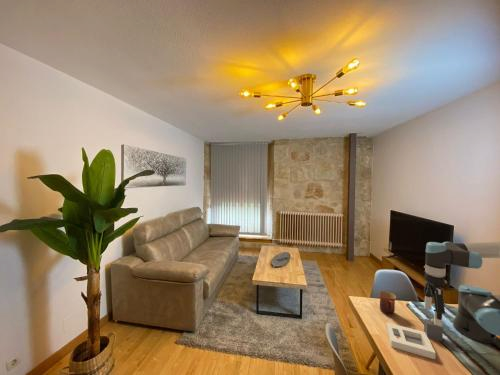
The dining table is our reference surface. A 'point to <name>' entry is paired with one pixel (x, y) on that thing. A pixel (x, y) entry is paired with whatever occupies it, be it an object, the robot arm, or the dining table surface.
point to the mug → (387, 302)
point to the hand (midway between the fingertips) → (432, 316)
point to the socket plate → (410, 340)
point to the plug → (433, 330)
